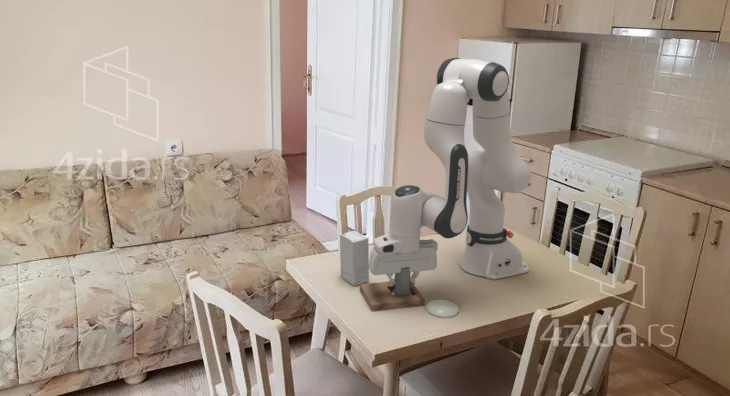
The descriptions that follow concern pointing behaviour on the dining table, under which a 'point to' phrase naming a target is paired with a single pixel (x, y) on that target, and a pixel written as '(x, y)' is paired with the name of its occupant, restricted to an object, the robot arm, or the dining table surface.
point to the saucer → (442, 308)
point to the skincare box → (354, 257)
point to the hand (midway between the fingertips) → (402, 284)
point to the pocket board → (389, 297)
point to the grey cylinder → (402, 283)
